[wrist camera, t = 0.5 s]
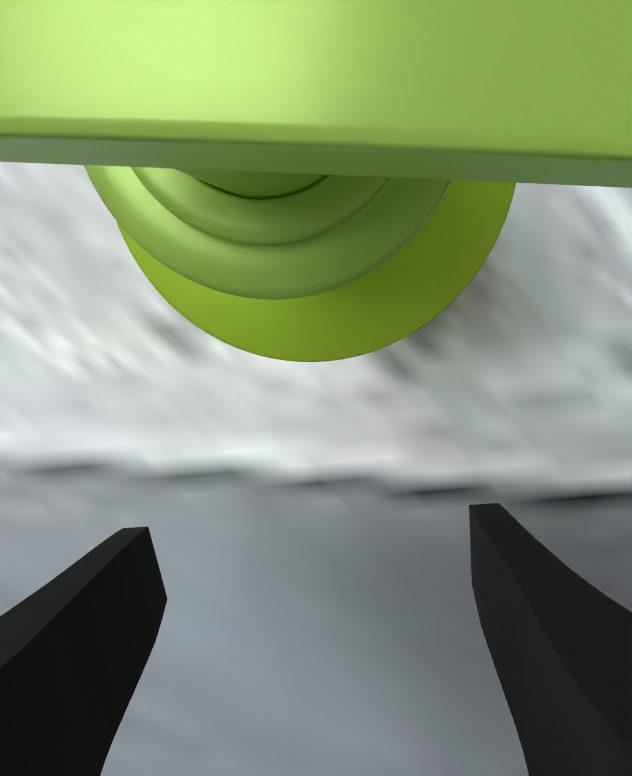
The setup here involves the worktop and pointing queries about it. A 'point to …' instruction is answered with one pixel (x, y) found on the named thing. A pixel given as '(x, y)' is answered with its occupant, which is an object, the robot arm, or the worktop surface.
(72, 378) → the worktop surface
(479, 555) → the robot arm
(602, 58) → the soap dispenser
